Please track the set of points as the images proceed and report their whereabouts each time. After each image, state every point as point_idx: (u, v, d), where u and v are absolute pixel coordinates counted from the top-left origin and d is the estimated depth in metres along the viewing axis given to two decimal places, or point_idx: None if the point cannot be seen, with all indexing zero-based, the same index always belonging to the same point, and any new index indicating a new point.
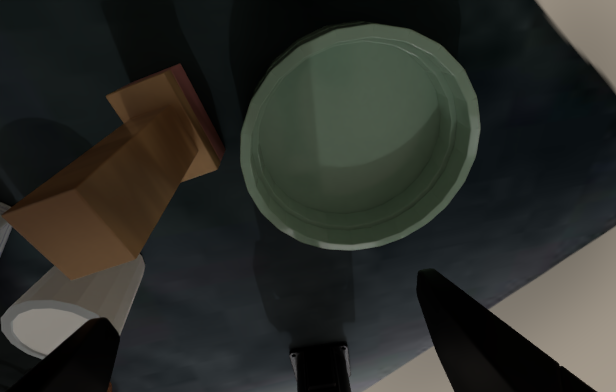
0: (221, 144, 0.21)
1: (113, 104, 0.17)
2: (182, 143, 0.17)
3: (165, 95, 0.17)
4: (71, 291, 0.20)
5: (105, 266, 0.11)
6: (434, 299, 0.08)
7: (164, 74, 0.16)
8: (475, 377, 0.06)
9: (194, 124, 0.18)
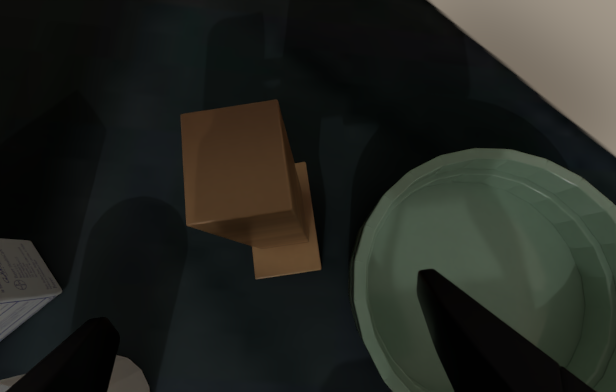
0: (320, 260, 0.19)
1: None
2: (304, 217, 0.15)
3: (298, 180, 0.17)
4: None
5: (246, 211, 0.07)
6: (434, 299, 0.08)
7: (305, 163, 0.18)
8: (475, 377, 0.06)
9: (313, 215, 0.17)
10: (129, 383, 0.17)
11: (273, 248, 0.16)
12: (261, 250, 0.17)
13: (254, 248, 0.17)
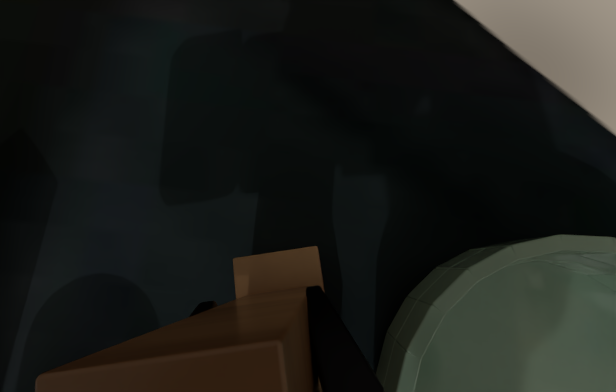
0: None
1: (237, 270, 0.12)
2: None
3: (308, 273, 0.12)
4: None
5: None
6: None
7: (317, 248, 0.13)
8: None
9: None
10: None
11: None
12: None
13: None
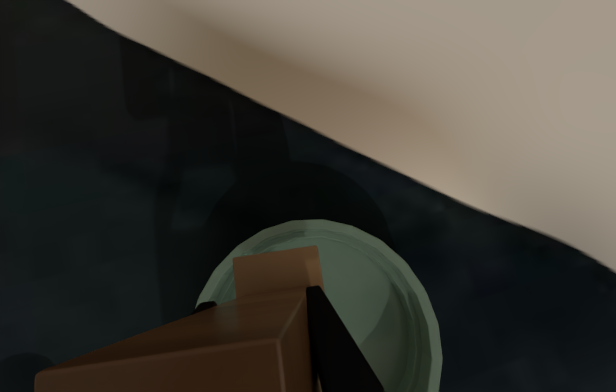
0: None
1: (236, 270, 0.12)
2: None
3: (307, 273, 0.12)
4: None
5: None
6: None
7: (317, 248, 0.13)
8: None
9: None
10: None
11: None
12: None
13: None
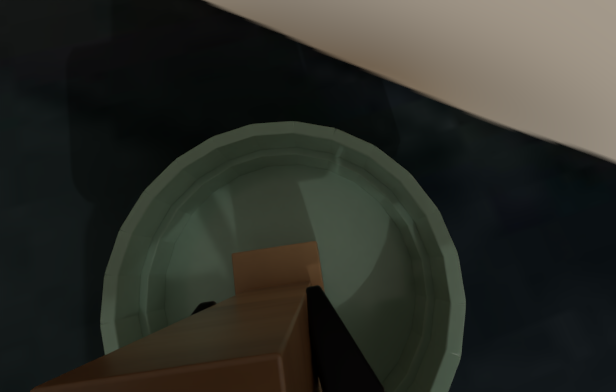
0: None
1: (235, 266, 0.12)
2: None
3: (307, 268, 0.12)
4: None
5: None
6: None
7: (316, 243, 0.13)
8: None
9: None
10: None
11: None
12: None
13: None
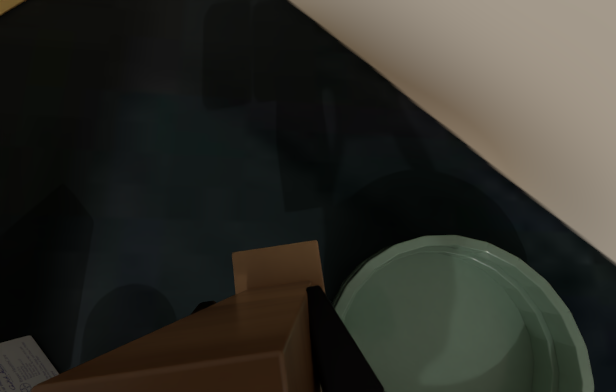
0: None
1: (236, 265, 0.12)
2: None
3: (307, 268, 0.12)
4: None
5: None
6: None
7: (317, 243, 0.13)
8: None
9: None
10: None
11: None
12: None
13: None
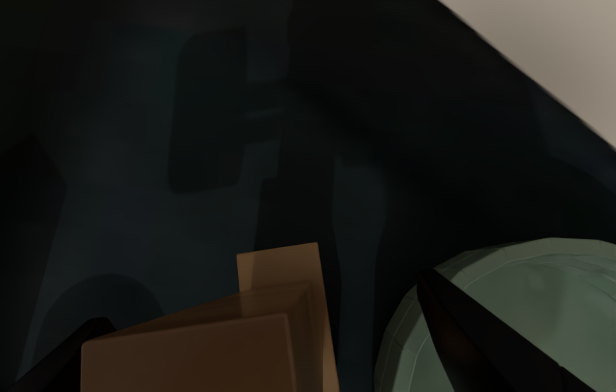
0: None
1: (240, 266, 0.13)
2: (318, 335, 0.11)
3: (308, 268, 0.13)
4: None
5: None
6: (434, 299, 0.08)
7: (317, 244, 0.13)
8: (475, 377, 0.06)
9: (328, 315, 0.13)
10: None
11: None
12: None
13: None
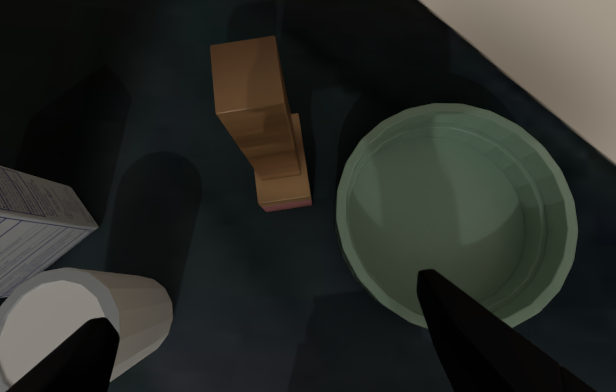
0: None
1: None
2: None
3: (292, 127, 0.21)
4: (109, 281, 0.17)
5: (254, 104, 0.12)
6: (434, 299, 0.08)
7: (298, 114, 0.22)
8: (475, 377, 0.06)
9: (304, 155, 0.21)
10: (157, 293, 0.21)
11: (272, 180, 0.21)
12: (262, 181, 0.21)
13: (257, 180, 0.21)
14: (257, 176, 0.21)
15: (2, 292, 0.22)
